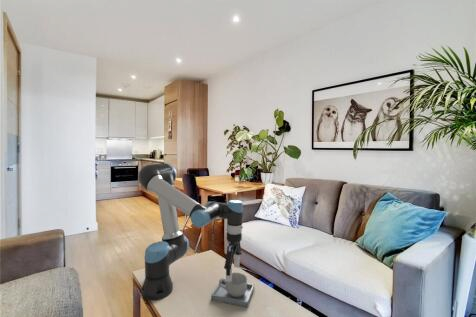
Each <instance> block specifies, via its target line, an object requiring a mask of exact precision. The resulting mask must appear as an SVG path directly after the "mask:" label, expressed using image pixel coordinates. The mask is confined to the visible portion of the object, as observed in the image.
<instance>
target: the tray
mask: <svg viewBox="0 0 476 317" xmlns="http://www.w3.org/2000/svg"><path fill="white" fill-rule="evenodd" d="M221 284H222V285H224V286H226V284H225V282H224V281H221ZM254 291H255V284H253V283H248V282H247V289H246V292H245V294H244V295H242V296H240V297H232V296H231V295H229V294H228V293H227V291H226V290H225V289H224V288H222V287H221V286H220V285H219V283H218V284H217V285H216V287H215V289H214V290H213V292H212V294H211V296H210V297H211V298H210V299H211V301H214V302H218V303H223V304H229V305H233V306H239V307H243V308H248V307H249V305H250V302H251V299H252V297H253V293H254Z"/></svg>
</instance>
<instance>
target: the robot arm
mask: <svg viewBox="0 0 476 317" xmlns="http://www.w3.org/2000/svg"><path fill="white" fill-rule="evenodd" d="M177 176H178V172H177V170H176V168H175V166H174V165H172V164H171V163H167V162H165V163H164V162H163V163H154V164H146V165H144V166H143V167H141V168H140V170H139V172H138V175H137V177H138V178H137V180H138V182H139V184H140V185H141V187H142V188H143V189H144V190H146V191H147V192H149V193H154V194H156V195H157V201H158V207H159V213H160V219H161V223H162V224H161V225H162V230H163V235H162V236H161V241H157V242H153V243H150V244H149V245H148V246H147V247H146V248H145V251H144V280H143V283H142V286H141V296H142V298H144V299H146V300H150V301H155V300H160V299H163V298H165V297H168V296H169V295H170V294H171V293H172V291H173V290H174V286H173V282H172V279H171V278H172V277H171V276H170V265H172V264H173V263H175V262H176V261H178V260H180V259H182V257H184V256H185V255H186V254H187V253H188V250H189V248H190V242H189V239H188V238H187V237H186V235H185V234H184V233H183V231H181V230H180V225H179V219H178V213H177V209H178V210H179V211H180V212H182V213H183V214H184V215H186V216H187V217H189V218H190V221H191V223H192V225H193V226H194V227H196V228H202V227H205V226H207V225H208V224H210V223H211V222H214V221H215V220H218V219H224V220H226V240H227V242H229V244H228V246H227V248H226V257H225V261H224V262H225V263H224V267H223V268H224V270H225V279H226V281H228V282H231V281H232V273H233V267H234V268H238V269H240V261H241V260H240V258H241V255H242V247H241V246H242V245H241V241H242V239H243V237H242V236H243V229H244V226H243V215H244V214H243V213H244V210H243V209H244V207H243V205H244V204H243V202H242V201H241V200H238V199H232V200H228V201H227V203H224V202H217V201H207V202H206V204H205V205H202V204H201V203H199V202H197V201H196V200H195V199H193V198H191V197H190V196H189V195H188V194H185V193H184V192H182V191H181V190H179V189H178V188H177V187H175V181H176V179H177ZM232 266H233V267H232Z"/></svg>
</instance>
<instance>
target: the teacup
mask: <svg viewBox="0 0 476 317" xmlns="http://www.w3.org/2000/svg"><path fill="white" fill-rule="evenodd" d="M221 281H224V282H225V284H226V286H224V285H222V284H221ZM247 283H248V278H247V275H245V274H244V273H241V272H232V281H231V282H228V281H226V278H225V277H222V278H220V279H219V280H218V284H219V285H220V286H221V287H222V288H224V289H225V290H226V291H227V293H228V294H229V295H231V296H232V297H240V296H242V295H244V294H245V292H246V289H247Z"/></svg>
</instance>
